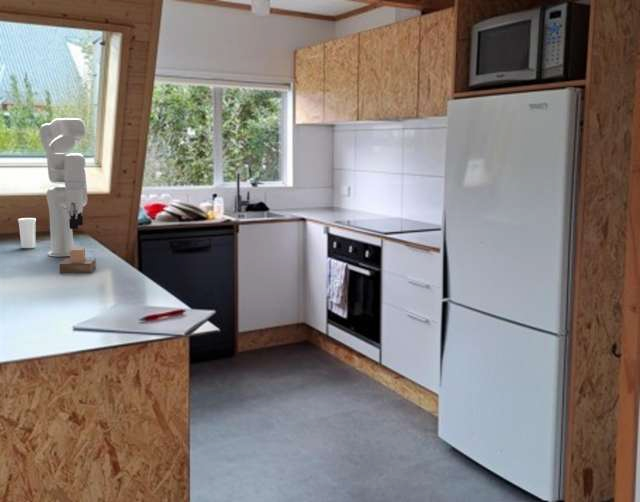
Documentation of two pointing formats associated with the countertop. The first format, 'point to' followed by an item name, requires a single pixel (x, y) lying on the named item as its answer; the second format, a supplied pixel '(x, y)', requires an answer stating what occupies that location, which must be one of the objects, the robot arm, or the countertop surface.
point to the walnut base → (78, 266)
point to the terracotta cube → (77, 255)
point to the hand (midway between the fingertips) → (76, 226)
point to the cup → (27, 232)
